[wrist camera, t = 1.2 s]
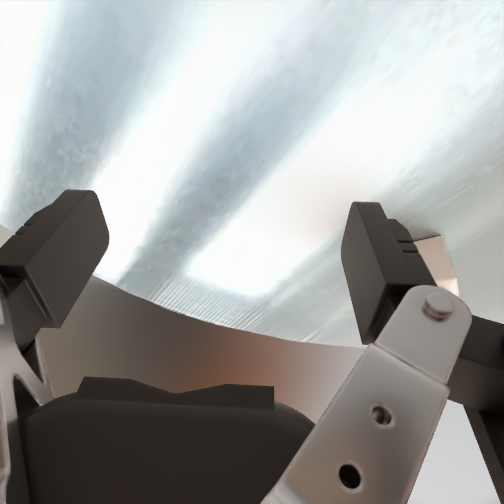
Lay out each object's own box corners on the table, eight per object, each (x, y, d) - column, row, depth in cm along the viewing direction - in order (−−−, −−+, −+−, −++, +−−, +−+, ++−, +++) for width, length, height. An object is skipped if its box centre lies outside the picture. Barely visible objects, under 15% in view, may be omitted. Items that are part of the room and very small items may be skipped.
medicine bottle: (385, 246, 47) (400, 323, 40) (442, 234, 44) (469, 314, 37) (395, 274, 52) (410, 347, 45) (446, 264, 49) (472, 341, 42)
